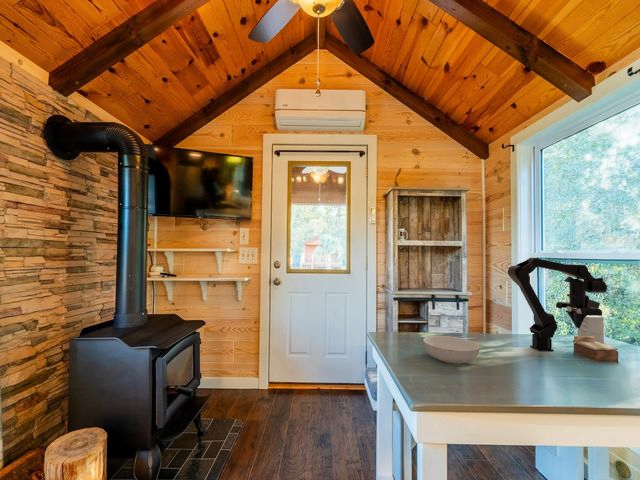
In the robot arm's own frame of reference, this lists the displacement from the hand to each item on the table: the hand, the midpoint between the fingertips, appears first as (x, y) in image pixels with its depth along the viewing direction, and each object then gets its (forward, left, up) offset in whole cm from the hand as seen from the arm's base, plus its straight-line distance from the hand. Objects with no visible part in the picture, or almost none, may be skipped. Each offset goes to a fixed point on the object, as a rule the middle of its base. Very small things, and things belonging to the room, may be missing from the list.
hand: (577, 327), depth 142 cm
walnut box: (0, -9, -10) cm, 13 cm away
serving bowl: (-62, -13, -10) cm, 64 cm away
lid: (0, -9, -5) cm, 10 cm away
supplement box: (+19, +16, -10) cm, 26 cm away
